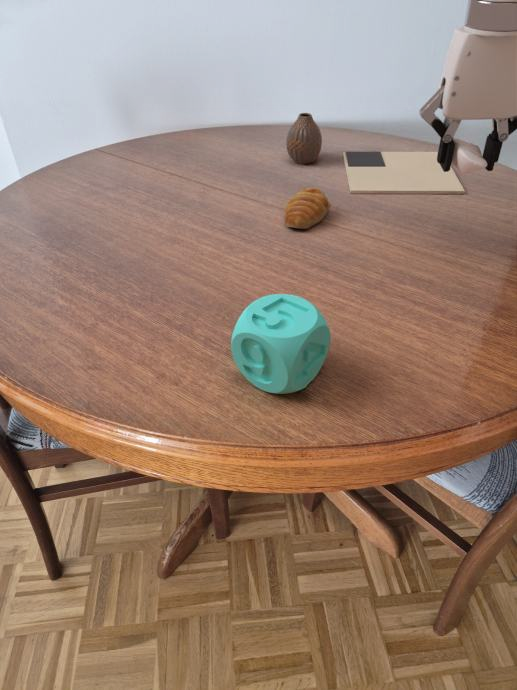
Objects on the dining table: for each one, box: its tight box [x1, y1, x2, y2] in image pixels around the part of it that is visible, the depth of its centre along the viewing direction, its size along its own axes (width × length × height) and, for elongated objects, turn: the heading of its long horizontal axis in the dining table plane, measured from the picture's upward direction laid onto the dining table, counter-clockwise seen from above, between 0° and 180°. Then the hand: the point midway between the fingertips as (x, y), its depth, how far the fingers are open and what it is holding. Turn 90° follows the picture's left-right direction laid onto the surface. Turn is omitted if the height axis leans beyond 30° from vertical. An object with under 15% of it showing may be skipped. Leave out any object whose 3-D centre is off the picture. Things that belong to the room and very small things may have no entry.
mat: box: [342, 151, 466, 195], centre depth 103 cm, size 20×18×1 cm
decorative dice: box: [230, 293, 331, 395], centre depth 60 cm, size 8×8×8 cm
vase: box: [285, 112, 323, 165], centre depth 105 cm, size 7×7×9 cm
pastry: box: [284, 187, 332, 230], centre depth 88 cm, size 9×7×4 cm
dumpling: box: [451, 137, 487, 174], centre depth 74 cm, size 7×5×4 cm
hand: (465, 166), depth 75 cm, fingers closed on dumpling, 5 cm apart
